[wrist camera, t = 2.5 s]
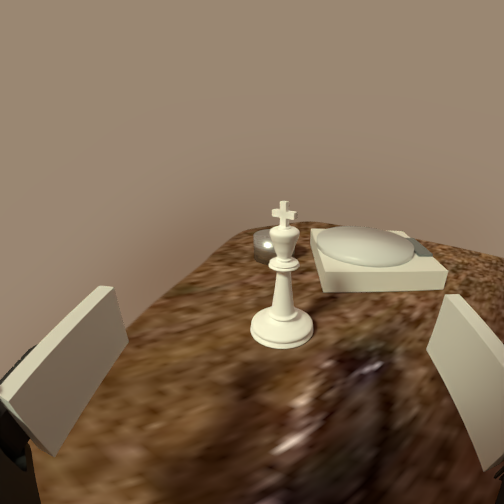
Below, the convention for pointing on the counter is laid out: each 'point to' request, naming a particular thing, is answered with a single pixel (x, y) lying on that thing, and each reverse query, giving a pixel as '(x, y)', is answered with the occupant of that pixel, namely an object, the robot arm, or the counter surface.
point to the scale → (373, 261)
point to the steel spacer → (264, 247)
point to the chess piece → (282, 292)
